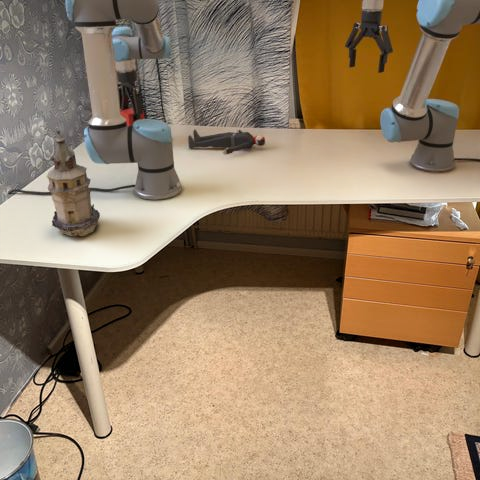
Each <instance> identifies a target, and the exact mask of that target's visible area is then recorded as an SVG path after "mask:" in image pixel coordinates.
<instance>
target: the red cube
mask: <svg viewBox="0 0 480 480" xmlns="http://www.w3.org/2000/svg"><path fill="white" fill-rule="evenodd" d="M129 108H130V109H125V110H121V109H120V112H121V115H122V116H123V117H124V118H125V119H126V122H127V126H133V123H134V120H133V115H134V112H133V109H132V107H129ZM140 119H141V120H142V119H146V118H145V111H144V110H143V114H141V115H140Z"/></svg>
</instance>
